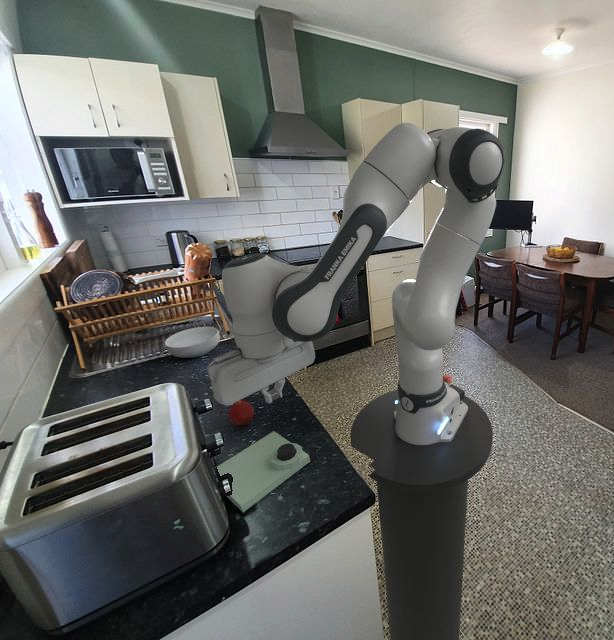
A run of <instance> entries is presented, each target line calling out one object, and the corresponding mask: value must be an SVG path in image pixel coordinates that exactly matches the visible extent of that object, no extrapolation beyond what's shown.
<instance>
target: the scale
mask: <svg viewBox="0 0 614 640" xmlns="http://www.w3.org/2000/svg"><path fill="white" fill-rule="evenodd" d="M287 443H290V444H293V445H294V448H295V456H294V457H293V458H291V459H290V460H286V461H281V460H279V458H278V453H277V450H278V448H279V447H280V446H282V445H284V444H287ZM309 463H311V458H310V455H309V454H308V453H307V452H305V451H304V450H303V447H302V446H301V445H299V444H298V443H293V442H290V441H289V440H288V439H286V438H285V437H283V436H282V435H280V434H279V433H277V432H276V431H275V430H273V431H271V432H270V433H268V434H267V435H265V436H264V437H262V438H260V439H259V440H257V441H256V442H254V443H253V444H251V445H249V446H247V447H246V448H244V449H243V450H241V451H240V452H238V453H237V454H234V456H232V457H230V458H229V459H227V460H225V461H224V462H223V463H220V464H218V465H217V466H216V467H217V469H218V472H219V474H220V476H222V475H224V474H227V473H229V474H231V475H232V477H233V482H232V490H233V491H232V495H230V496H226V498H228V500H230V501H231V502H232V503H233V505H234V506H236V507H237V509H238V510H240V511H241V512H242V513H245V512H246V511H247V510H249V509H250V508H252V507H253V506H254V505H255V504H256V503H258V502H259V501H260V500H263V498H264V497H266V496H267V495H268V494H269V493H271V492H272V491H274V490H275V489H276V488H277V487H279V486H280V485H281V484H282V483H284V482H286V481H287V480H288V479H289V478H290V477H292V476H293V475H294V474H296V473H297V472H298V471H300V470H301V469H303V467H305V466H306V465H307V464H309Z"/></svg>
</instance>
